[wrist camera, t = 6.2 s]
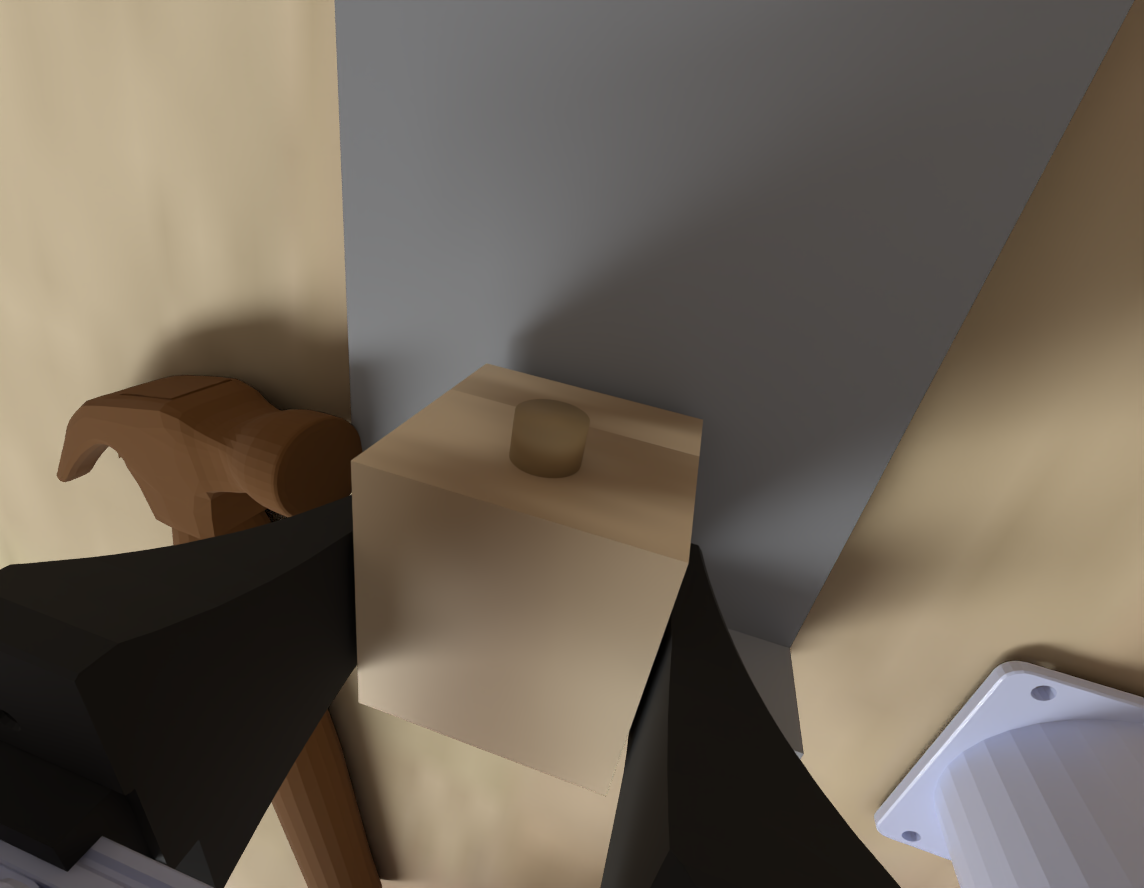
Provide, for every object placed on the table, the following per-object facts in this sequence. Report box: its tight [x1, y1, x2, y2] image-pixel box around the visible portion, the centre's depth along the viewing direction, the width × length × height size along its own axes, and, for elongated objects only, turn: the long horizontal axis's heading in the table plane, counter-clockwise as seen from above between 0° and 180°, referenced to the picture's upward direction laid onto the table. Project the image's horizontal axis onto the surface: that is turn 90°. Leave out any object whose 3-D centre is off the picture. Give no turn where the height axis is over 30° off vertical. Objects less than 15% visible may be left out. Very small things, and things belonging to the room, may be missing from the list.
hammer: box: [57, 375, 382, 888], centre depth 22 cm, size 12×3×30 cm
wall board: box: [335, 0, 1134, 759], centre depth 11 cm, size 13×18×4 cm
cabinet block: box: [351, 363, 703, 796], centre depth 11 cm, size 5×6×5 cm
